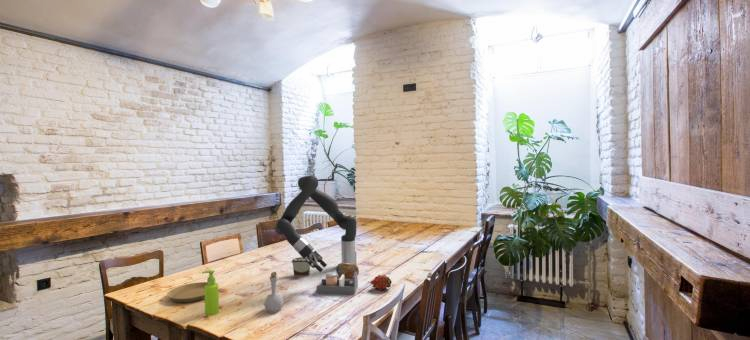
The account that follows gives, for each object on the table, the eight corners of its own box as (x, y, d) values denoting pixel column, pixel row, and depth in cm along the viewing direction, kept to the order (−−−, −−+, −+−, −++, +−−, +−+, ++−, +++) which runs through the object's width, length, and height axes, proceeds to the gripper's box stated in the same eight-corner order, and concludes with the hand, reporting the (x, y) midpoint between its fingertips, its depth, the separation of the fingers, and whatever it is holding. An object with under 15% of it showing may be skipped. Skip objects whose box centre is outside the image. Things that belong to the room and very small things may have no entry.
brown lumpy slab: (335, 276, 216) (335, 262, 215) (338, 274, 218) (338, 261, 218) (357, 279, 209) (356, 265, 208) (359, 278, 211) (359, 264, 211)
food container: (313, 272, 222) (313, 257, 222) (311, 276, 216) (311, 260, 215) (295, 272, 223) (294, 256, 223) (291, 275, 217) (291, 259, 217)
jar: (334, 285, 197) (334, 271, 197) (339, 288, 192) (339, 274, 191) (324, 287, 194) (323, 273, 193) (328, 291, 188) (328, 276, 188)
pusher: (339, 290, 188) (339, 279, 188) (342, 285, 196) (342, 274, 196) (341, 290, 188) (341, 279, 188) (344, 285, 196) (344, 274, 196)
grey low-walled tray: (316, 293, 188) (316, 276, 188) (322, 285, 199) (321, 270, 199) (354, 294, 186) (354, 277, 186) (357, 287, 197) (357, 271, 196)
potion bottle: (287, 307, 171) (286, 270, 170) (276, 315, 162) (275, 276, 162) (271, 305, 174) (271, 268, 173) (260, 312, 165) (259, 274, 165)
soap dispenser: (205, 310, 168) (204, 269, 167) (220, 309, 168) (219, 268, 168) (200, 316, 162) (199, 273, 161) (216, 315, 163) (215, 272, 162)
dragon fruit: (393, 292, 192) (371, 295, 193) (392, 279, 199) (371, 282, 200) (391, 283, 187) (369, 286, 188) (390, 270, 194) (368, 273, 194)
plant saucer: (171, 291, 194) (171, 285, 194) (219, 285, 203) (219, 279, 203) (162, 308, 172) (162, 301, 172) (216, 300, 180) (216, 294, 180)
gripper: (303, 246, 186) (325, 268, 185) (311, 239, 200) (331, 260, 199) (294, 255, 187) (315, 277, 186) (302, 249, 201) (322, 269, 200)
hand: (323, 268), depth 193 cm, fingers open, 8 cm apart
